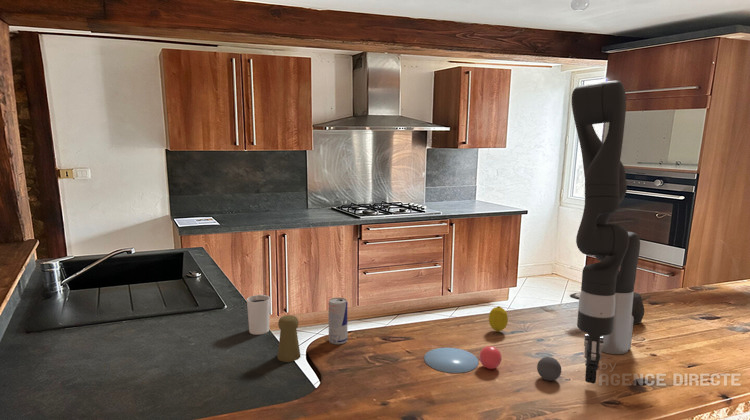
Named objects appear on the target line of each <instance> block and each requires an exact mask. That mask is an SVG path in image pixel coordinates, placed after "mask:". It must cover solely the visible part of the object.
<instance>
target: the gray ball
mask: <svg viewBox="0 0 750 420" xmlns="http://www.w3.org/2000/svg"><path fill="white" fill-rule="evenodd" d="M536 370H537V374H538V375H539V376H540V377H541V378H542V379H543V380H545V381H548V382H549V381H551V382H552V381H555V380H558V379H559V378H560V376H561V373H562V367H561V363H560V362H559V361H558V360H557V359H556V358H554V357H552V356H545V357H542V358H541V359H540V360H538V362H537V366H536Z"/></svg>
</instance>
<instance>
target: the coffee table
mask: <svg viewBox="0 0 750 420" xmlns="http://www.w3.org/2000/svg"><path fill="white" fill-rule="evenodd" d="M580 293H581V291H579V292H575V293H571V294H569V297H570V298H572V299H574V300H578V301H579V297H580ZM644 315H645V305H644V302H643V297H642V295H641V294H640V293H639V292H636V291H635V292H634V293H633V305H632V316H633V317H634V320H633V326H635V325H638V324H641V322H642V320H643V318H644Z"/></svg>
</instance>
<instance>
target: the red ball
mask: <svg viewBox="0 0 750 420" xmlns="http://www.w3.org/2000/svg"><path fill="white" fill-rule="evenodd" d="M478 356H479V357H478V358H479V359H478V360H479V363H480V364H481V365H482V366H483V367H484V368H486V369H489V370H493V369H497V368H498V367H499V366H500V365H501V363H502V354H501V352H500V350H499V349H498V348H497V347H495V346H492V345H491V346H490V345H487V346H485V347H483V348H481V350H480V351H479V354H478Z"/></svg>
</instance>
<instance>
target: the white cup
mask: <svg viewBox="0 0 750 420" xmlns="http://www.w3.org/2000/svg"><path fill="white" fill-rule="evenodd" d="M270 304H271V297H270V296H269V295H267V294H266V295H265V294H255V295H251V296H249V297H247V298H246V305H247V318H248V319H247V321H248V329H249V330H248V332H249V333H250V334H252V335H255V336H256V335H259V336H260V335H264V334H267V333H268V332H269V331H270V316H271V315H270V312H271V311H270V309H271V308H270V307H271V305H270Z"/></svg>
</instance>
